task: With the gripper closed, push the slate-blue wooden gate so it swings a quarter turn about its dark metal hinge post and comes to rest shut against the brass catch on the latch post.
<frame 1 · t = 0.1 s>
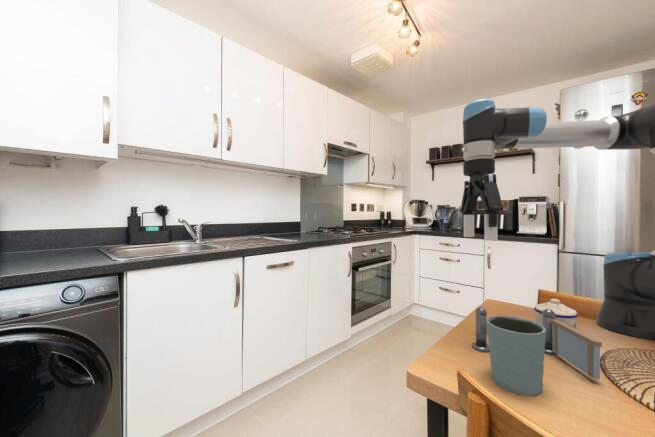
hand: (479, 238, 75), 28 cm above the table, tool pointing down, fingers open, 13 cm apart
blue-grey pot: (515, 383, 57), on the table
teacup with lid: (557, 342, 75), on the table
gate: (573, 346, 62), point 5 cm above the table, hinge at 90.0°
hinge post: (548, 350, 70), on the table
latch post: (481, 347, 72), on the table
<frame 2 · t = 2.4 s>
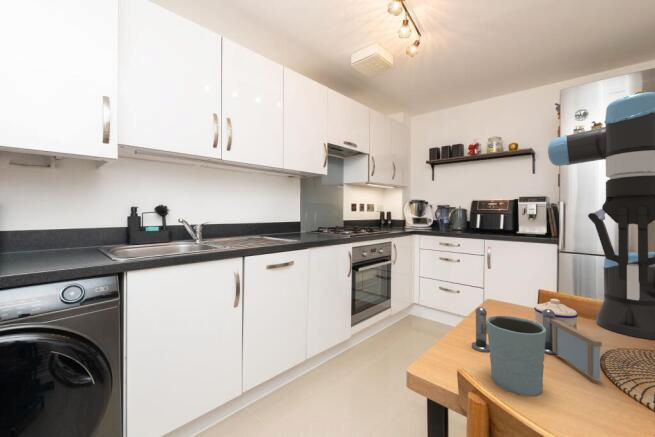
hand: (633, 298, 54), 18 cm above the table, tool pointing down, fingers closed
nothing on the table moved.
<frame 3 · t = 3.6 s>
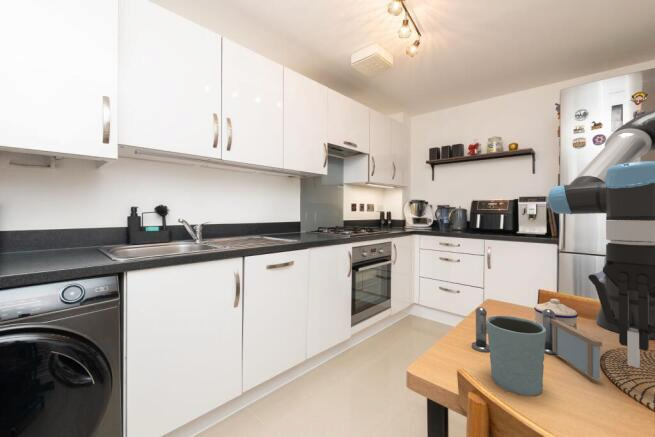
hand: (633, 363, 54), 5 cm above the table, tool pointing down, fingers closed
nothing on the table moved.
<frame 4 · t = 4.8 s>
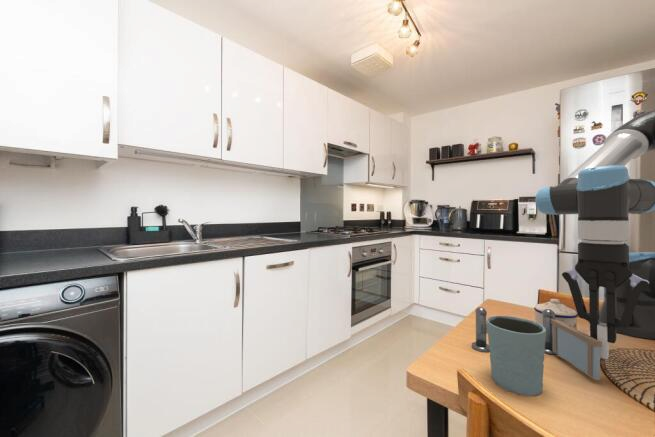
hand: (603, 356, 57), 5 cm above the table, tool pointing down, fingers closed
gate: (573, 346, 62), point 5 cm above the table, hinge at 90.0°, touching gripper
everything else where it was.
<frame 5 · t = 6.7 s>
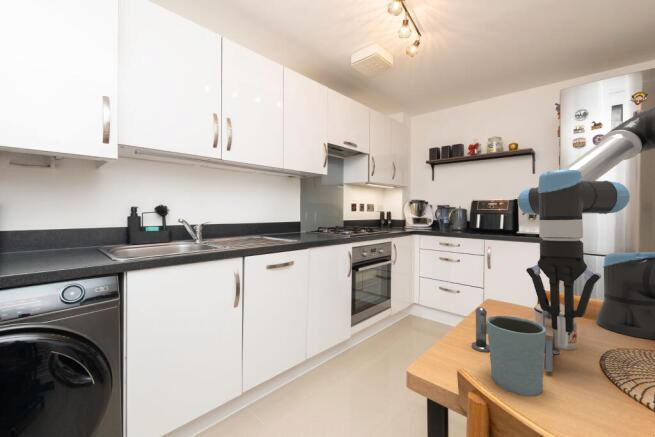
hand: (563, 345, 62), 5 cm above the table, tool pointing down, fingers closed
gate: (548, 343, 64), point 5 cm above the table, hinge at 57.5°, touching gripper
everything else where it was.
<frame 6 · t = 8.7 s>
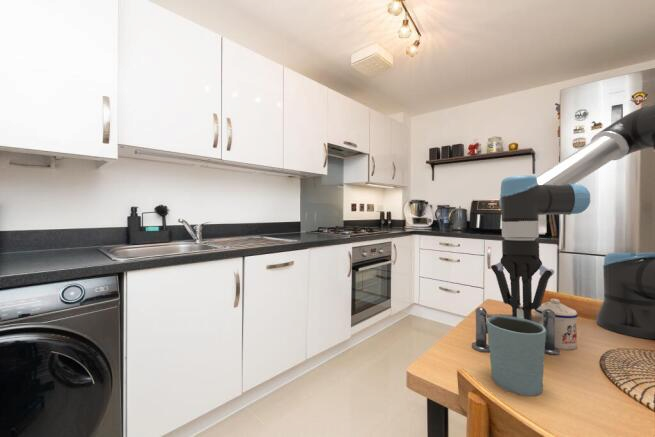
hand: (522, 334, 68), 5 cm above the table, tool pointing down, fingers closed
gate: (513, 330, 71), point 5 cm above the table, hinge at -0.4°, touching gripper
everything else where it was.
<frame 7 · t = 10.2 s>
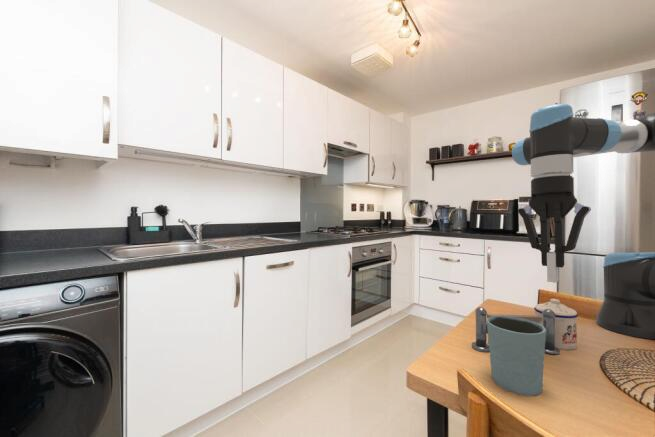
hand: (553, 281, 63), 19 cm above the table, tool pointing down, fingers closed
gate: (513, 330, 71), point 5 cm above the table, hinge at -0.5°
everything else where it was.
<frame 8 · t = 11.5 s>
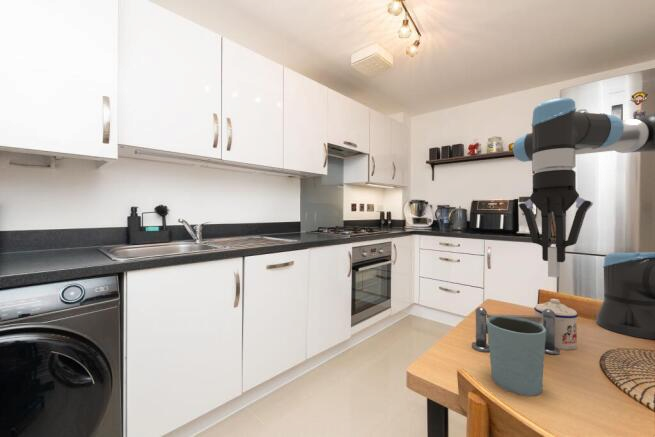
hand: (553, 276, 63), 20 cm above the table, tool pointing down, fingers closed
nothing on the table moved.
at the end: gate at +0° (first picture: +90°) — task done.
